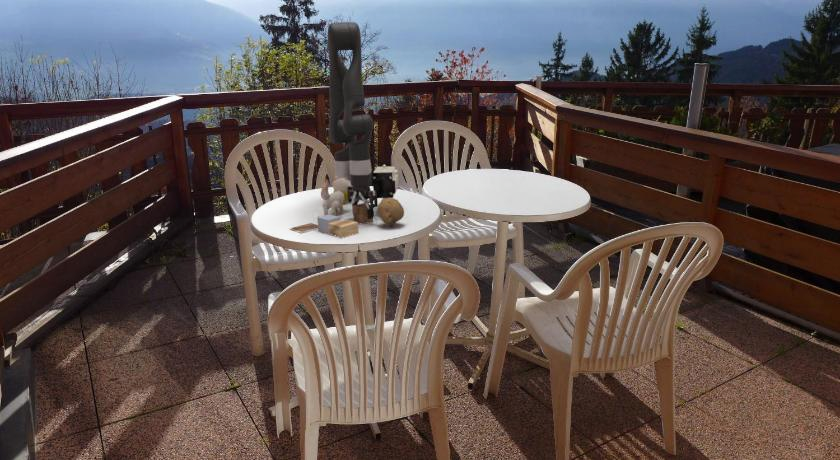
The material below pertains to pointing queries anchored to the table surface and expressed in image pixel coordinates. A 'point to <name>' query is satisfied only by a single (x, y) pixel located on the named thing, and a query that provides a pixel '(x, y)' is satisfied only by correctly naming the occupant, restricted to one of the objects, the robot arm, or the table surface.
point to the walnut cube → (361, 213)
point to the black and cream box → (385, 181)
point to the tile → (305, 228)
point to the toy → (335, 195)
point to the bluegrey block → (326, 222)
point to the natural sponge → (390, 211)
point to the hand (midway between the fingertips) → (363, 216)
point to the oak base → (343, 228)
